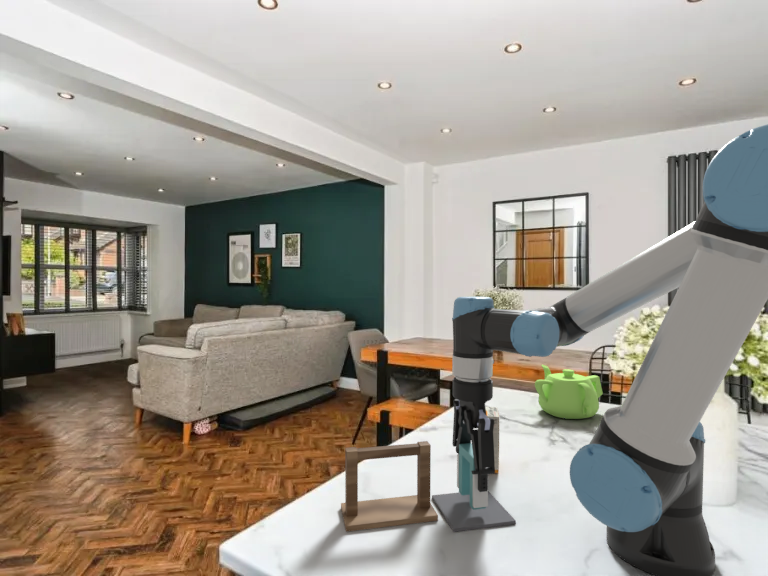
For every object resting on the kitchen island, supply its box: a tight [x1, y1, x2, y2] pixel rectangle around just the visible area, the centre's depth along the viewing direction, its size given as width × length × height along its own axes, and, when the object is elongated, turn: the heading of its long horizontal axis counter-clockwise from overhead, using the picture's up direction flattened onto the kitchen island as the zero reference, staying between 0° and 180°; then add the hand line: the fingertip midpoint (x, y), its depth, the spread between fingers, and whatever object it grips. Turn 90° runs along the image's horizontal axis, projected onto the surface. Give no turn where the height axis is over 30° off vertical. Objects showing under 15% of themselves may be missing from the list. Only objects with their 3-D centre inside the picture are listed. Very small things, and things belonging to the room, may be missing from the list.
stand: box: [340, 440, 439, 533], centre depth 84 cm, size 8×17×13 cm, turn 102°
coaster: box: [431, 490, 517, 533], centre depth 85 cm, size 12×12×1 cm
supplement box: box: [485, 406, 500, 474], centre depth 105 cm, size 8×5×13 cm, turn 168°
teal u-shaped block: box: [458, 442, 486, 510], centre depth 85 cm, size 7×2×10 cm, turn 12°
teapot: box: [534, 364, 604, 420], centre depth 145 cm, size 19×20×14 cm
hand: (471, 495), depth 85 cm, fingers closed on teal u-shaped block, 7 cm apart
